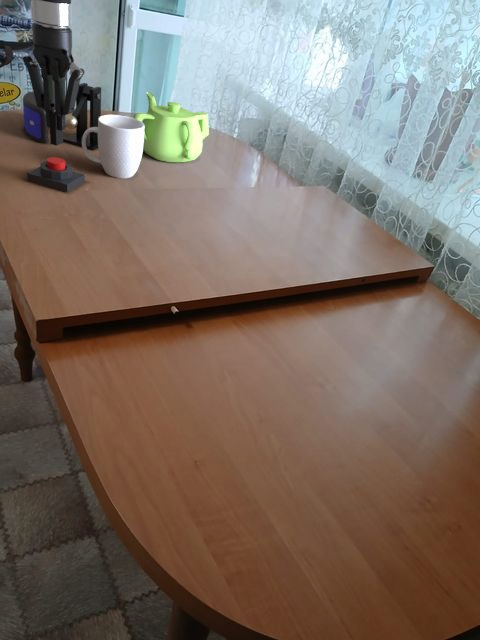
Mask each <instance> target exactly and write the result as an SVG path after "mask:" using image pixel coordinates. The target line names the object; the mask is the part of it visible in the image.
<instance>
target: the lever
mask: <svg viewBox="0 0 480 640" xmlns="http://www.w3.org/2000/svg"><path fill="white" fill-rule="evenodd" d="M92 88H95V87H94V86H91V85H88V86H87V85H86V86H85V88H84V89H83V91H82V95H83V98H82V99H81V101H80V102H79V104H78V106H77V107H76V106H75V108H74V112H73V113H71V114H67V115H65V120H66V128H67V129H70V130H73V129H75V128H76V126H77V119H76V118H77V117H78V115H79V114H80V112H81V110H82V109H83V107H84V106H85V104H86V102H87V101H88V102H90V89H92ZM88 102H87V103H88Z"/></svg>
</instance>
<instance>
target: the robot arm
mask: <svg viewBox="0 0 480 640" xmlns="http://www.w3.org/2000/svg"><path fill="white" fill-rule="evenodd" d="M30 17H31V19H32V21H34V22H33V23H32V24H31V30H32V42H33V44H34V46H33V49H32V53H31V54H29V55H25V56H23V57H22V61H23V64H24V65H25V67H26V69H27V72H28V76H29V80H30V84H31V87H32V92H34V96H35V100H36V104H37V106H38V107H39V108H42V109H44V110H45V112H46V125H47V127H48V129H49V138H50V139H49V140H50V143H49V144H50V145H52V146H55V147H56V146H59V145H62V144H63V143H64V142H63V138H64V130H65V131H66V128H67V127H66V120H65V117H66V116H67V115H71V114H72V113H73V112H74V110H75V109H76V98H77V93H78V88H79V84H81V80H82V78H83V77H84V75H85V73H86V72H85V70H84V68H80V67H79V66H78V65H77V64H75V59H74V56H73V53H72V51H73V50H72V49H73V30H72V29H71V26H72V25H73V24H72V21H73V20H72V0H30ZM68 72H69V75H70V76H69V78H68V81H67V74H68ZM66 81H67V82H68V83H66ZM66 84H67V86H66ZM66 87H67V88H66Z"/></svg>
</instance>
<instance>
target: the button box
mask: <svg viewBox="0 0 480 640" xmlns="http://www.w3.org/2000/svg"><path fill="white" fill-rule="evenodd" d="M65 168H66V169H64V170H52V169H49V168H47V160H45V161H42V162H40V164H39V166H38V167H36V168H34V169H32V170H30V171H28V172H26V180H27V182H30V183H33V184H37V185H40V186H43V187H48V188H51V189H55V190H57V191H60V192H64V193H70V192H71V191H73V190H74V189H76V188H77V187H79V186H81V185H83V184H85V182H86V175H85V174H83V173H80V172H78V171H73V166H72V165H71V164H69V163H68V162H65Z"/></svg>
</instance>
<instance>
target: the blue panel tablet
mask: <svg viewBox="0 0 480 640" xmlns="http://www.w3.org/2000/svg"><path fill="white" fill-rule="evenodd" d="M22 110H23V125H24V126H23V127H24V132H25V134H26V135H27V136H28V137H29V138H30V139H31V140H33V141H35V142H37V143H40V144H47V143H48V142H49V127H47V125H46V112H45V110H44V109H42V108H39V107H38V106H37V104H36V100H35V96H34V92H33V91H28V92H26V93H25V94H24V95H23V96H22Z"/></svg>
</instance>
